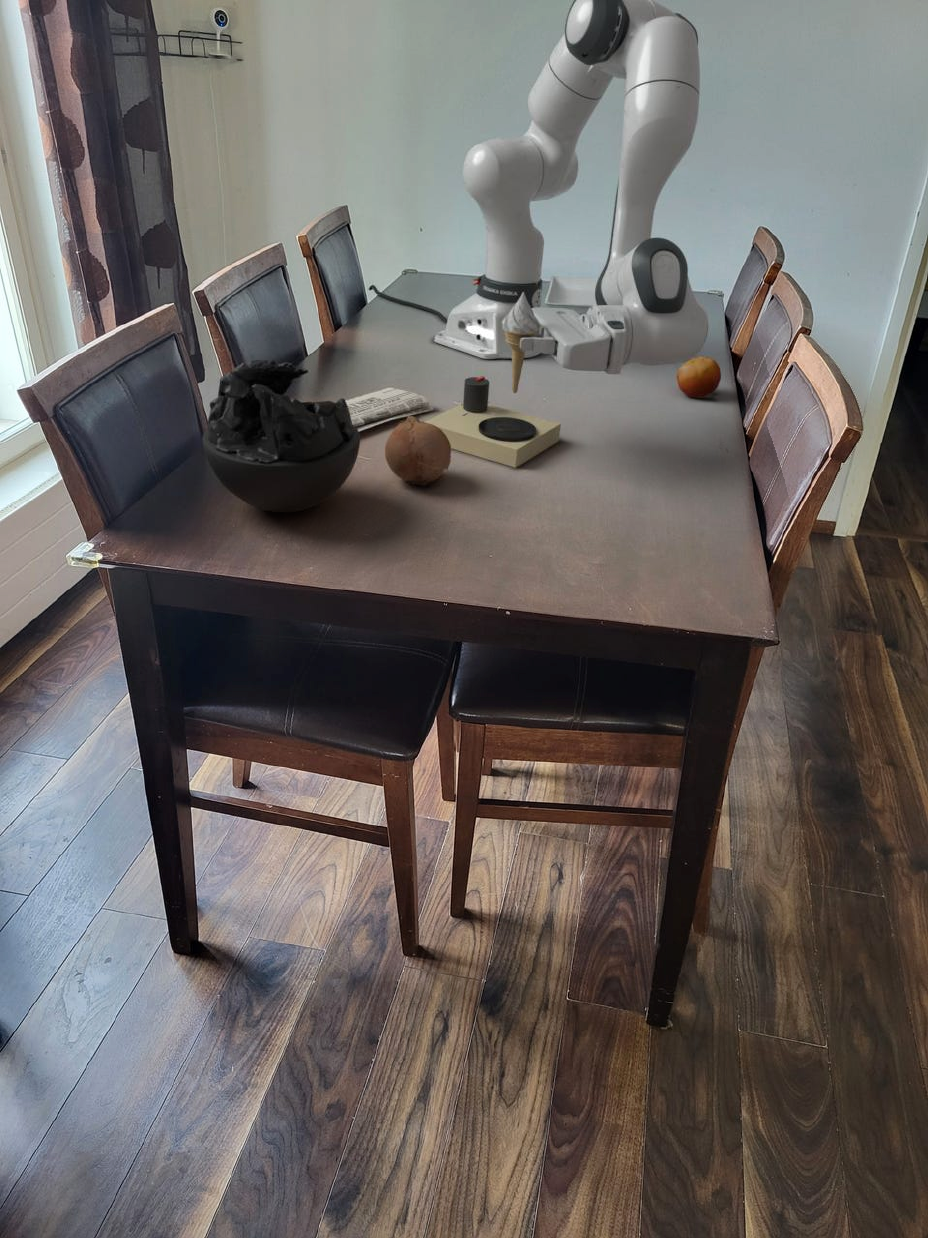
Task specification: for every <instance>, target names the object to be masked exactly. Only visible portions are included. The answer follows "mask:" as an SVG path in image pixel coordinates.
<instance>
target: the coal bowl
mask: <svg viewBox="0 0 928 1238" xmlns="http://www.w3.org/2000/svg"><path fill="white" fill-rule="evenodd" d="M308 373H309V370H308V369H305V368H302V367H298V366H295V365H294V364H293V363H291V362H288V361H286V362H282V363H276V361H275V359H272V358H271V359H262V360H261V359H254V360H251V362H250V364H249V365H247V364H246V363H245V362H244V361H243V362H241V363H240V364H239V365H237V366H236V367H234V368H233V370H232V371H228V372H227V373H225V374H224V375H222V376H221V377H220V379H219V385H218V391H217V397H216V398H213V400H211V401H210V402H209V408H210V411H209V415H208V419H207V424H206V425H207V426H206V429H205V430H204V431H203V434H202V439H201V440H202V446H203V451H204V454H205V457H206V459H207V462H208V464H209V466H210V468H211V469H212V471H213V473H214V475H215V476H216V478H217V479H218V480H219V482H220V483H221V484H222V485H223V486H224V487H225V488H226V489H227V490H228V491H229V492H230V493H231V494H232V495H234V496H235V497H236V498H237V499H239V500H241V501H242V502H244V503H246V504H248V505H250V506H252V507H255V508H257V509H260V510H264V511H269V512H275V513H294V512H300V511H304V510H308V509H310V508H313V507H315V506H318V505H319V504H321V503H323V502H325V501H326V500H328V499H329V498H331V497H332V496H333V495H334V494H335V493H337V492H338V491H339V489H341V487H342V486H344V484H345V482H346V481H347V480H348V479H349V476H350V475H351V474H352V471H353V469H354V467H355V465H356V462H357V458H358V455H359V450H360V445H361V435H360V431H358V430H357V428H356V427H355V426H354V425H353V424H352V421H351V416H350V412H349V409H348V406H347V403H346V401H345V400H346V399H345V398H344V397H342V398H339V399H338V400H337V401H336V402H334V401H331V400H323V401H322V400H321V401H300V400H298V399H297V398H290V396H288V395H285V394H286V393H287V392H288V390H289V389H290V388H291V386H292V384H293V382H294V380H295V379H300V378H301V377H302V376H304V375H306V374H308Z"/></svg>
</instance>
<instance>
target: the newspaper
mask: <svg viewBox="0 0 928 1238" xmlns="http://www.w3.org/2000/svg"><path fill="white" fill-rule="evenodd" d="M345 401H346V403H347V406H348V409H349V412H350V416H351V421H352V424H353V425H354V426H355V427H356V428H357V430H358V431H359V432H362V431H364V430H366V429H370V428H373V427H375V426H378V425H381V424H383V423H386V422H389V421H392V420H397V419H400V418H405V417H408V416H414V415H418V414H422V413H427V412H432V411H434V410H435V409H434V407H432V406H431V405H429V404H430V403H429V400H428V399H427V398H426V397H425V396H424V395H420V394H417V393H415V392H411V391H408V390H403V389H399V388H394V387H385V388H383V389H379V390H376V391H372V392H369V393H365V394H362V395H358V396H356V397H355V396H354V397H352V398H349V399H345Z"/></svg>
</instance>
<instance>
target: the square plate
mask: <svg viewBox="0 0 928 1238" xmlns="http://www.w3.org/2000/svg"><path fill="white" fill-rule="evenodd" d="M598 279H599V277H598V278H597V277H584V276H583V277H582V276H581V277H580V276H565V275H564V276H563V275H561V276H560V275H552V276H550V280H549V286H548V290H547V293H546V296H545V300H544V305H545V306H546V308H564V309H571V310H574V311H576V312H577V313H578V314H579V315H582V314H587V311H588V310H589V308H590V307H591V306H593V305H597V304H596V299H595V288H596V284H597V281H598Z"/></svg>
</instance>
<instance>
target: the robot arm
mask: <svg viewBox="0 0 928 1238" xmlns="http://www.w3.org/2000/svg"><path fill="white" fill-rule="evenodd" d="M700 70H701V69H700V53H699V35H698V31H697V29H696V27H695V26H694V24H693V23H692V22H691V21H690V20H688V19H687V18H686V17H685V16H683V15H682V14H681V13H679V12H673V11H672V10H670V9H668V8H667V7H665V6H664V5H662V4H660V3H658V2H657V1H655V0H573V2H572V4H571V6H570V8H569V10H568V13H567V16H566V19H565V25H564V33H563V34H562V36H561V37H560V39H559V41H558V42H557V43H556V45H555V47H554V49H553V50H552V51H551V54H550V56H549V57H548V59H547V61H546V63H545V65H544V66H543V68H542V70H541V72H540V74H539V75H538V77H537V79H536V81H535V82H534V85H533V86H532V88H531V90H530V92H529V94H528V96H527V108H528V112H529V115H530V118H531V123H530V125H529V128H528V129H527V131H526V132H525V133H524V134H523V135H521V136H516V137H495V138H492V139H489V140H485V141H483V142H480V143H478V144H475V145H473V146H472V147H471V148H470V149H469V150H468V152H467V153H466V156H465V158H464V161H463V166H462V180H463V183H464V187H465V189H466V192H467V193H468V194H469V196H470V197H471V198H472V199H473V200H474V201H475V202H476V204H477V205H478V207H479V209H480V212H481V215H482V218H483V221H484V225H485V233H486V235H485V236H486V250H485V251H486V254H485V255H486V256H485V272H484V274H482V275H480V276H478V277H477V278H474V279H472V281H473V283H472V286H477V288H476V292H475V293H474V294H472V295H470V296H469V297H468V298H466V299H464V300H463V301H462V302H460V303H459V304H457V305H456V306H454V307H453V308H452V309H451V310H450V312H449V314H448V317H447V318H445V316H444V315H443V314H442V313H441V312H440V311H438V310H436V309H434V308H431V307H427V306H424V305H421V304H418V303H416V302H412V301H407V300H403V299H400V298H397V297H394V296H392V295H391V296H390V295H388V294H386V293H383V292H381V291H379V290H378V288H377V287H376V285H374V284H371V285H370V286H369V287H368V291H374V293H375V294H376V295H377V296H379V297H381V298H382V299H383V298H384V299H385V300H389V301H392V302H394V303H398V304H400V305H405V306H407V307H408V306H409V307H413V308H415V309H419V310H422V311H426V312H428V313H431V314H434V315H436V316H437V317H439V318H440V320H441V321H442V322H443V323H444V324H446V325H445V329H443V330H440V331H439V332H437V333H436V334H435V335H434V343H437V344H440V345H442V346H444V347H448V348H450V349H454V350H457V351H460V352H463V353H465V354H468V355H472V356H475V357H476V358H480V359H483V360H494V359H512V348H511V347H510V345H509V343H508V342H507V341H506V335H505V331H504V330H503V324H502V321H503V320H504V318H505V317H506V316H507V315H508V313H509V312H510V311H511V310H512V308H513V307H514V306H515V304H516V303H517V302H518V300H519V298H520V297H521V295H522V293H523V292H524V294H525V296H526V299H527V302H528V304H529V305H530V307H531V309H532V311H533V312H534V316H535V317H536V318H537V320H538V322H539V323H540V325H539V326H538V332H537V333H536V334H535V337H531V336H520V337H519V343H518V346H519V348H520V349H521V350H522V351H525V355H524V359H528V358H532V357H536V356H538V355H540V354H544V355H550V356H551V357H552V358H553V359H554V360H555V361H556V362H557V363H558V365H560V367H561V368H563V369H566V370H571V371H578V372H579V371H580V372H605V373H606V374H608V375H620V374H621V373H622V368H623V367H625V366H628V365H631V364H639V365H642V366H646V367H647V366H649V367H650V366H668V365H676V364H683V363H687V362H688V361H690V360H692V359H694V358H696V356H697V355H698V354H699V353H700V352H701V350H702V349H703V347H704V345H705V343H706V340H707V337H708V332H709V317H708V314H707V312H706V310H705V309H704V308H703V307H702V306H701V305H700V303H699V302H698V300H697V298H696V296H695V294H694V292H693V291H694V290H693V288H692V286H691V282H690V279H689V266H688V261H687V258H686V256H685V254H684V252H683V250H682V249H681V248H680V247H679V246H678V245H677V244H676V243H674V241H672V240H669V239H667V238H664V237H652V232H653V231H652V229H653V223H654V214H655V209H656V205H657V202H658V199H659V197H660V195H661V192H662V190H663V189H664V187H665V185H666V183H667V181H668V180H669V178H670V177H671V176H672V174H673V172H674V171H675V169H676V168H677V166H678V165H679V164H680V162H681V161H682V159H683V158H684V157H685V155H686V154H687V152H688V151H689V149H690V147H691V145H692V143H693V138H694V135H695V131H696V129H697V124H698V118H699V109H700V108H699V107H700V91H701V71H700ZM614 78H617V79H620V80H621V79H623V80H625V86H624V87H625V88H624V101H623V116H622V117H623V118H622V133H621V134H622V135H621V150H620V160H619V168H618V169H619V170H618V180H617V181H618V182H617V187H616V193H615V198H614V199H615V200H614V208H613V216H612V223H611V232H610V242H609V249H608V255H607V259H606V262H605V265H604V267H603V269H602V271H601V273H600V275H599V277H598V278H599V279H598V281H597V284H596V288H595V299H596V304H597V305H593V306H591V307H590V308H589V310H588V311H587V314H582V315H579V314H578V313H577V312H576V311H574V310H571V309H564V308H548V307H547V306H546V307H545V306H543V307H542V306H541V302H542V294H543V279H542V268H543V259H544V250H545V249H544V248H545V239H544V236H543V233H542V232H541V231H540V230H539V229H538V228H537V227H536V226H535V224H534V223H533V220H532V215H531V202H539V201H548V200H552V199H554V198H556V197H559V196H561V195H563V194H565V193H567V192H569V190H571V189H572V187H573V186H574V185H575V183H576V180H577V178H578V175H579V160H578V159H579V158H578V155H577V152H576V148H577V146H578V142H579V139H580V137H581V134H582V132H583V130H584V128H585V127H586V125H587V123H588V121H589V120H590V118H591V116H592V114H593V113H594V111H595V109H596V108H597V106H598V105H599V103H600V101H601V100H602V98H603V97H604V95H605V93H606V92H607V90H608V88H609V86H610V84H611V83H612V81H613V79H614Z"/></svg>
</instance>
